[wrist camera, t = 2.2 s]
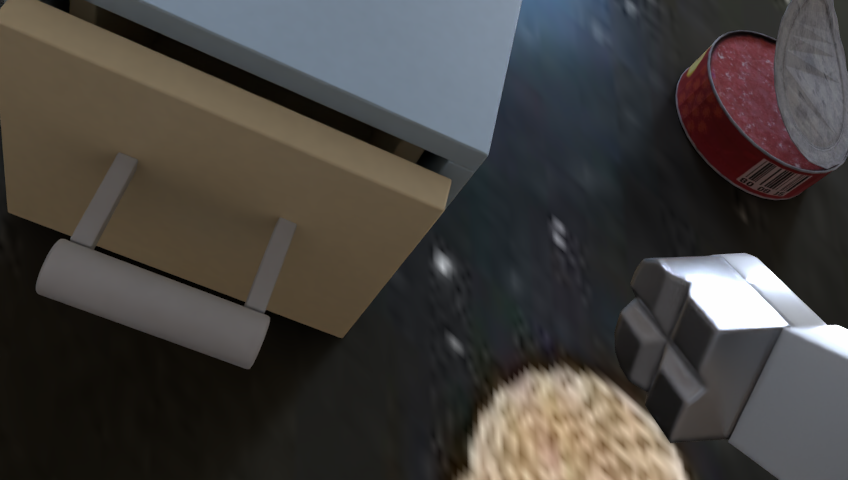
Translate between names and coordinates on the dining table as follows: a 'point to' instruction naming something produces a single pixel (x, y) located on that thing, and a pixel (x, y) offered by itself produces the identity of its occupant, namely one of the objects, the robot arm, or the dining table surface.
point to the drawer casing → (363, 61)
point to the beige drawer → (197, 184)
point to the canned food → (771, 103)
